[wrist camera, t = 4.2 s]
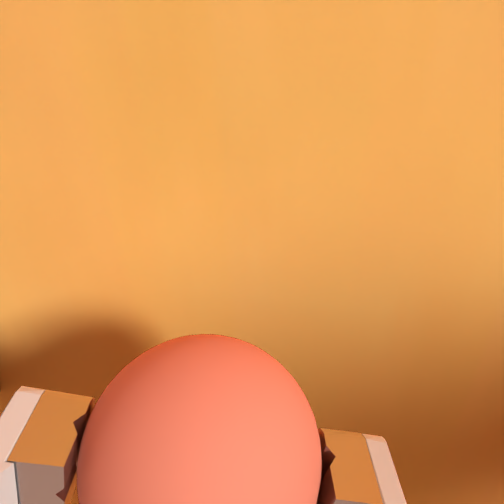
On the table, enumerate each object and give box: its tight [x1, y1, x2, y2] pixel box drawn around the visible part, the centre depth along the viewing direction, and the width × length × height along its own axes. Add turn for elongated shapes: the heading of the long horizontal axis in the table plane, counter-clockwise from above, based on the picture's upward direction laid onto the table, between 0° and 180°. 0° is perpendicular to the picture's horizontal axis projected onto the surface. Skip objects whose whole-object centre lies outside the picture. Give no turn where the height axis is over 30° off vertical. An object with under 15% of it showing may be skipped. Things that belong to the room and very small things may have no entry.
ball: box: [77, 334, 322, 504], centre depth 9 cm, size 5×5×5 cm
